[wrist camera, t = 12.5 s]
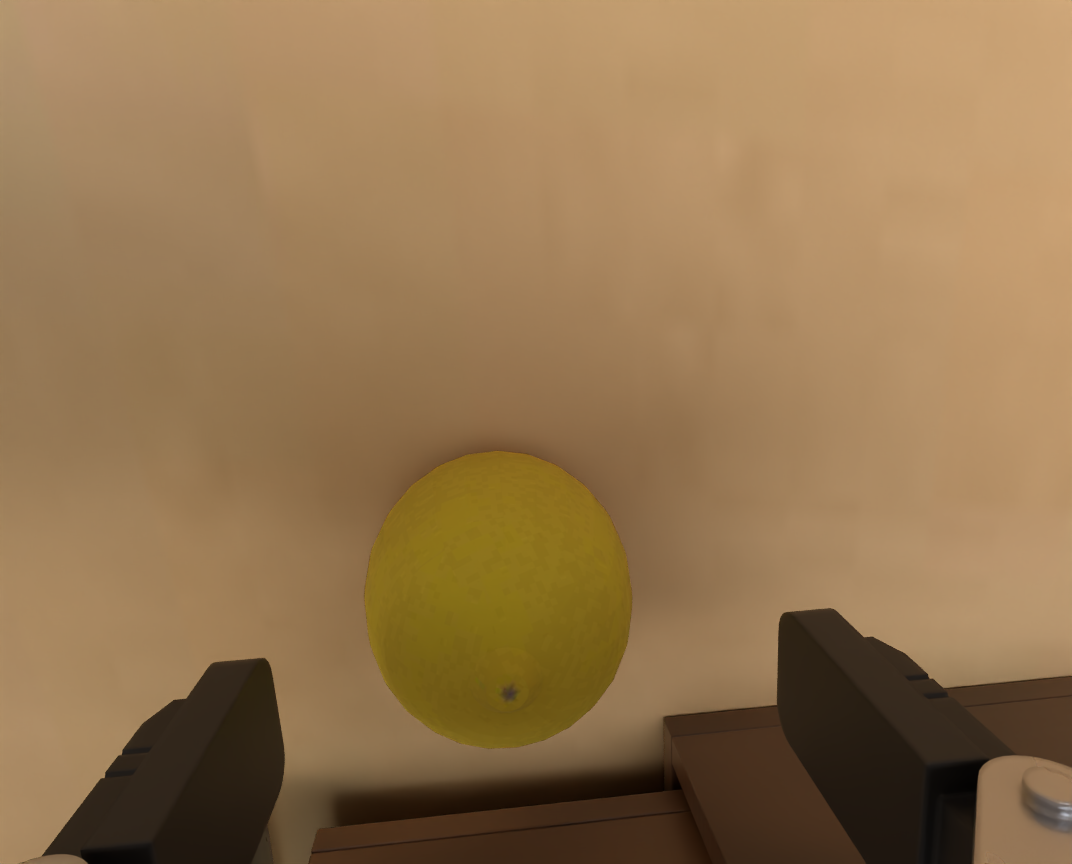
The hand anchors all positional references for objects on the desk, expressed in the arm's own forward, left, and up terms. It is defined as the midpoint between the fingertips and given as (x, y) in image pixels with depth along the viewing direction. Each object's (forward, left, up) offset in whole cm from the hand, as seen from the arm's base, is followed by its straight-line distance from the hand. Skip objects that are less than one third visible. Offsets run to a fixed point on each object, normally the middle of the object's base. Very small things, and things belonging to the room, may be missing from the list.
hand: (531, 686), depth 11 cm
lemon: (0, 0, -8) cm, 8 cm away
